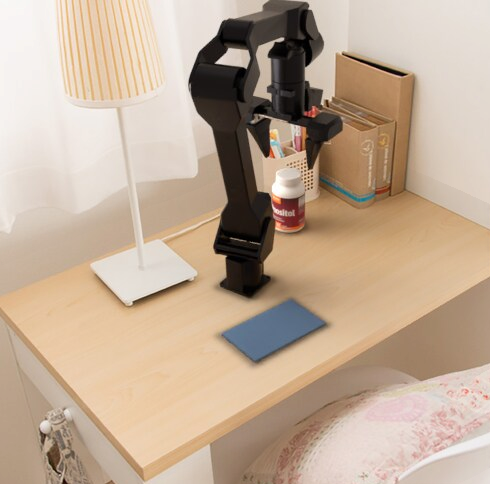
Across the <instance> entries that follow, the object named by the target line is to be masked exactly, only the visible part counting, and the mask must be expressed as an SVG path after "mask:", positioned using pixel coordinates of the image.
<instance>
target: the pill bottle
mask: <svg viewBox="0 0 490 484" xmlns="http://www.w3.org/2000/svg"><path fill="white" fill-rule="evenodd" d="M302 177H303V176H302V171H301V170H300V169H298V168H295V167H284V168H280V169H278V170H277V171H276V172H275V182H274V183H273V184H272V185H271V201H272V208H273V210H274V212H273V217H274V218H275V221H276V226H275V231H277V232H280V233H289V234H292V233H297V232H299V231H301V230H303V228H304V227H305V225H306V186H305V183H304V181H302V179H303V178H302Z"/></svg>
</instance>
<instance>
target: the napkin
mask: <svg viewBox="0 0 490 484" xmlns="http://www.w3.org/2000/svg"><path fill="white" fill-rule="evenodd" d="M326 325H327V322H326V321H324V320H323V319H321V318H320V317H318V315H315V314H314V313H312V312H311V311H309V310H308V309H306V308H305V307H304V306H303V305H301V304H300V303H298V302H297V301H295V300H294V299H293V298H290V299H287V300H286V301H283V302H282V303H279V304H278V305H275V306H274V307H272V308H270V309H268V310H266V311H263V312H261V313H260V314H258V315H256V316H254V317H251V318H249V319H248V320H246V321H243V322H242V323H239V324H237V325H235V326H233V327H231V328H230V329H228V330H227V329H226V330H225V331H223V332H222V333H221V336H222V337H223V338H224V339H226V340H227V341H228V342H229V343H230V344H231V345H233V346H234V347H235V348H237V350H239V351H240V352H241V353H242V354H244V356H246V357H247V358H249V359H250V360H251V361H252V362H253V363H255V364H256V363H257V362H260V361H261V360H264V359H265V358H267V357H269V356H270V355H272V354H274V353H276V352H278V351H280V350H281V349H284V348H285V347H288V346H289V345H291V344H293V343H294V342H297V341H298V340H301V339H302V338H304V337H306V336H308V335H310V334H312V333H313V332H315V331H317V330H319V329H321V328H322V327H325V326H326Z"/></svg>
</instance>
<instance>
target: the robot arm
mask: <svg viewBox="0 0 490 484" xmlns="http://www.w3.org/2000/svg"><path fill="white" fill-rule="evenodd" d="M279 39H283V40H281V41H276V40H279ZM271 42H273V45H272V47H271V48H270V49H269V50H268V52H267V59H270V84H269V85H267V86H266V93H267V94H270V98H271V99H268V98H265V97H261V96H256V95H254V94H255V91H256V88H257V85H258V83H259V79H260V77H261V70H260V65H259V61H258V58H257V53H258V49H259V46H260V47H261V46H262V45H265V44H267V43H271ZM324 48H325V40H324V38H323V35H322V34H321V32H319V29H318V25H317V21H316V19H315V15H314V12H313V10H312V9H310V4H309V3H308V1H300V0H267V1H266V2H265V3H263V4H262V8H261V11H257V12H253V13H250V14H246V15H243V16H239V17H236V18H232V17H228V18H227V19H223V20H222V21H221V22H220V25H219V28H218V30H217V33H216V34H215V36H214V37H213V38H212V39H210V40H209V42H207V43H206V44H205V45H204V46H203V47H202V48H201V49H200V50H199V51H198V52H197V55H196V57H195V60H194V63H193V65H192V68H191V71H190V74H189V77H188V81H187V83H188V84H187V88H188V92H189V94H190V98H191V100H192V104H193V106H194V108H195V109H194V110H195V111H196V113H197V115H198V116H199V117H200V118H202V120H203V121H205V123H207V124H208V126H210V128H211V131H212V135H213V140H214V145H215V149H216V154H217V159H218V163H219V167H220V172H221V177H222V182H223V186H224V190H225V195H226V199H227V202H226V203H225V206H224V207H223V209H222V211H220V212H221V213H220V219H219V224H218V227H217V230H216V234H215V238H214V242H213V244H212V249H213V252H214V255H218V256H219V255H221V256H225V257H224V260H225V262H224V263H225V278H223V279H222V280H221V281H220V282H219V287H220V288H224V289H225V290H228V291H231V292H233V293H236V294H239V295H242V296H244V297H247V298H252V297H254V295H256V294H257V293H258V292H259V291H260V290H262V288H263V287H265V286H266V285H267V284H268V283H270V282H271V280H272V277H271V276H270V275H268V274H265V273H264V272H265V265H264V264H265V261H266V260H267V259H268V257H269V256H270V254H271V253H272V252H273V250H274V243H275V242H274V241H275V236H276V235H275V234H276V229H275V226H276V221H275V218H274V217H273V212H274V210H273V208H272V195H270V193H269V192H264V191H259V190H258V185H257V179H256V174H255V168H254V162H253V156H252V150H251V146H250V139H249V134H248V132H249V133H250V135H251V137H252V138H253V140H254V141H255V143H256V144H257V146H258V149H259V150H260V151H261V153H262V155H263V157H264V158H265V159H268V158H269V157H270V155H271V132H270V131H271V130H270V129H271V128H270V127H271V123H272V120H273V121H277V122H281V123H285V124H289V125H294V126H298V127H302V128H305V134H306V136H307V137H306V138H304V148H305V158H306V165H307V170H309V171H311V170H312V169H314V167H315V164H316V162H317V159H318V158H319V157H318V156H319V154H320V151H321V149H322V148H323V145H324V143H328V142H329V141H331V140H332V139H334V138H335V137H336V136H338V135H339V134H341V133H342V132H343V131H344V130H343V129H344V120H343V119H342V117H341V116H340V115H339V114H334V113H330V112H326V111H321V112H319V113H318V114H316V115H315V116H309V115H306V113H309V112H311V111H312V110H313V107H316V108H319V109H320V108H321V107H322V99H323V95H324V89H323V88H318V87H314V86H311V84H310V81H309V80H306V68H307V67H309V66H310V65H311V64H312V63H313V62H315V60H316V59H317V58H319V56H321V54H322V53H323V50H324ZM229 49H233V50H242V51H248V55H249V61H248V64H247V67H245V66H241V65H240V66H239V65H233V64H232V65H231V64H223V63H217V62H218V61H219V60H220V59H221V58H222V57H224V56H225V55H226V54H227V52H228V51H229Z"/></svg>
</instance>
